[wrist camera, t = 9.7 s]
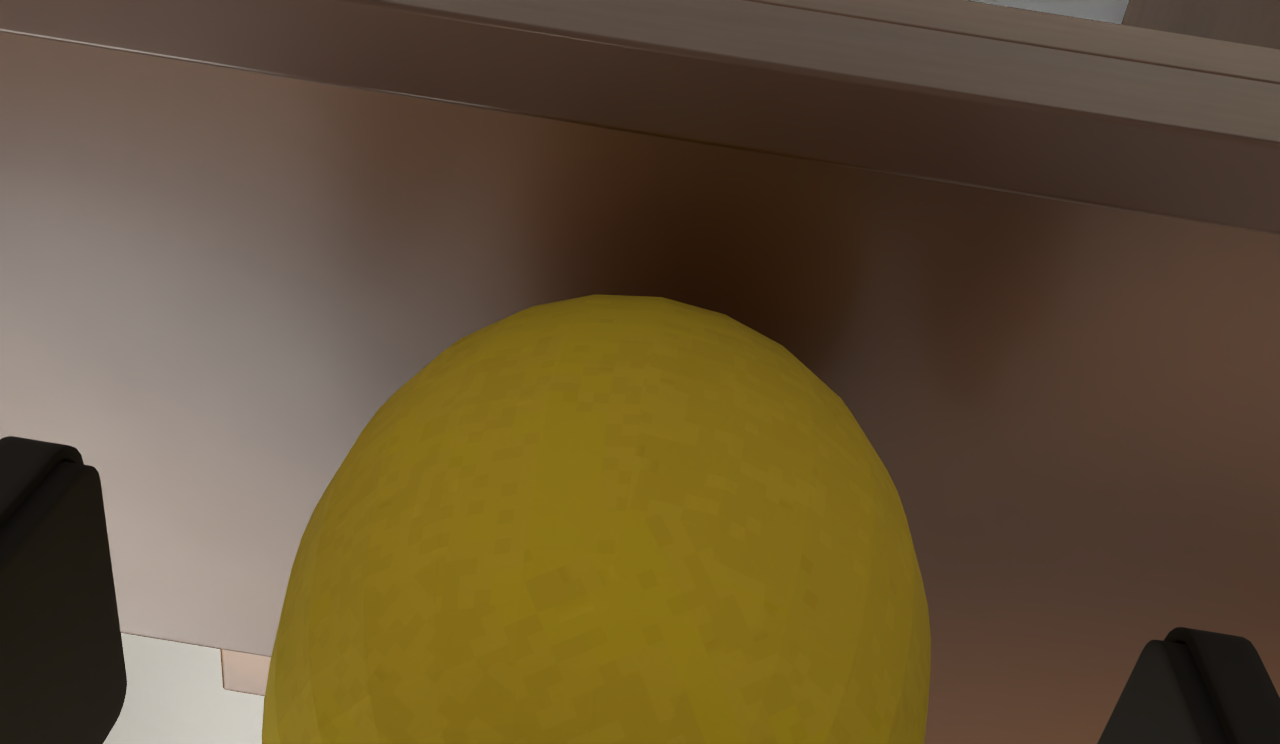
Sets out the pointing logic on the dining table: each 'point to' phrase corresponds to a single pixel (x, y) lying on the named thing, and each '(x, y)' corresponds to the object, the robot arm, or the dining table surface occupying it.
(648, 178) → the stand
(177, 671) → the dining table surface
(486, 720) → the lemon
